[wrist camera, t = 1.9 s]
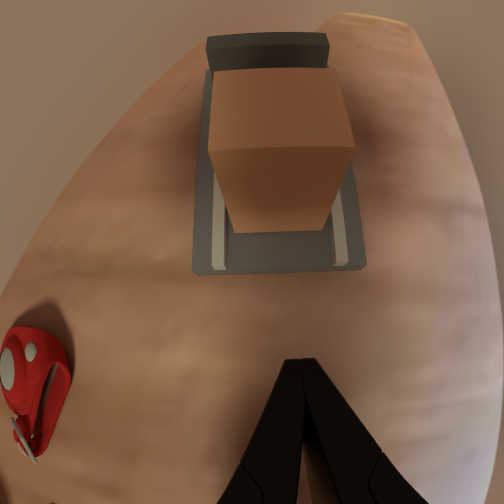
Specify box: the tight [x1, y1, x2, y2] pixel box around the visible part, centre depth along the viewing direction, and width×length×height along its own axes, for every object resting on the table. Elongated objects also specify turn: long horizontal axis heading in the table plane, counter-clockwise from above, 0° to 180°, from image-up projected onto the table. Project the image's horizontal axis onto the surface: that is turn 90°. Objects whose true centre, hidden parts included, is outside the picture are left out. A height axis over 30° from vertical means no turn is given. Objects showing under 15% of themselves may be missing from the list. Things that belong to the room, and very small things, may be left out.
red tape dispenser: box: [0, 326, 71, 463], centre depth 20 cm, size 12×4×10 cm
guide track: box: [192, 32, 366, 275], centre depth 22 cm, size 20×12×6 cm, turn 1°
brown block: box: [208, 68, 355, 233], centre depth 18 cm, size 5×6×10 cm
